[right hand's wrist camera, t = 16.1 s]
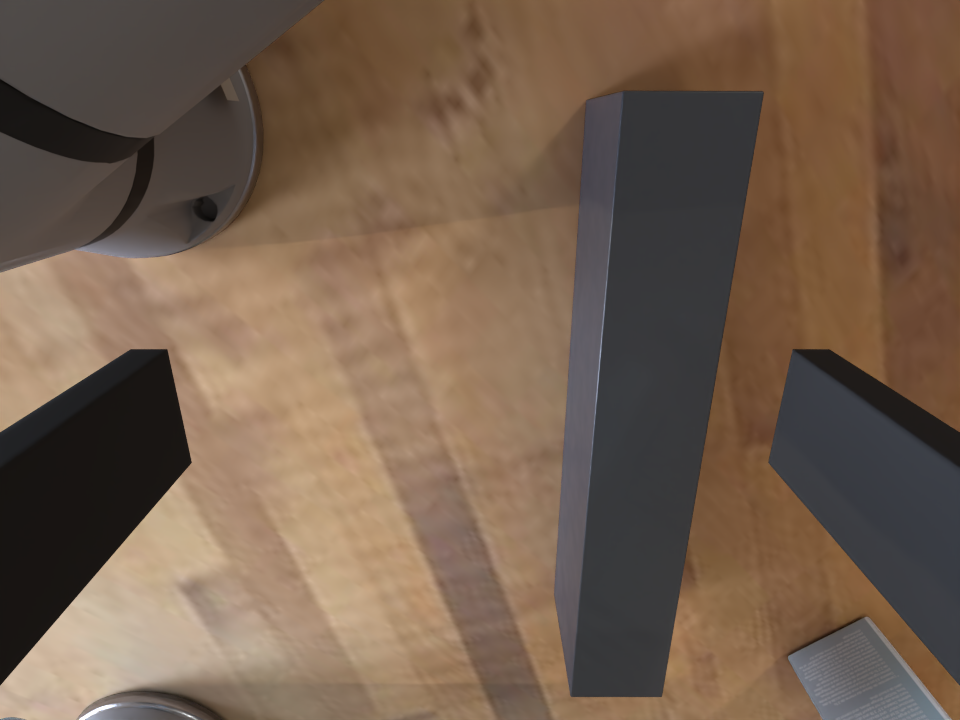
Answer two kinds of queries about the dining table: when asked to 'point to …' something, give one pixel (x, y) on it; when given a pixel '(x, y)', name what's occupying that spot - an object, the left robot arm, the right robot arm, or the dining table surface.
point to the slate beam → (643, 368)
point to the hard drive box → (862, 678)
